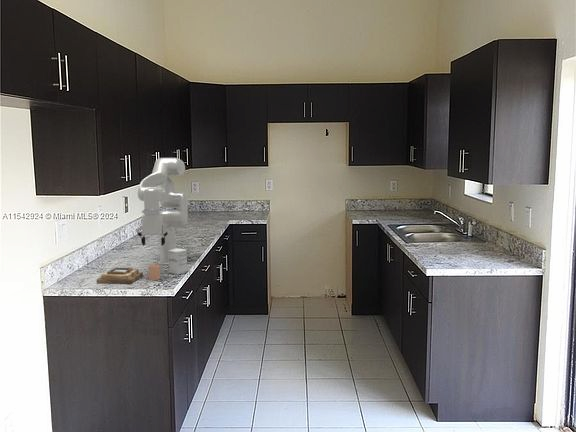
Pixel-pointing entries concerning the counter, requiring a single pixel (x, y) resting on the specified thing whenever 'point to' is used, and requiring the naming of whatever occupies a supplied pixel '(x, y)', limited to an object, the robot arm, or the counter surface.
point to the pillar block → (154, 272)
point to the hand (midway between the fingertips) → (153, 245)
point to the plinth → (109, 281)
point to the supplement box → (177, 261)
